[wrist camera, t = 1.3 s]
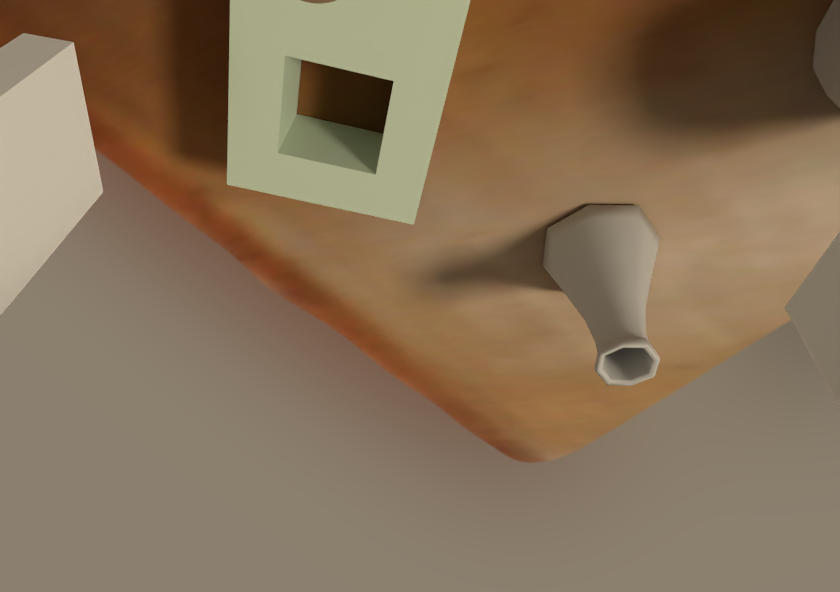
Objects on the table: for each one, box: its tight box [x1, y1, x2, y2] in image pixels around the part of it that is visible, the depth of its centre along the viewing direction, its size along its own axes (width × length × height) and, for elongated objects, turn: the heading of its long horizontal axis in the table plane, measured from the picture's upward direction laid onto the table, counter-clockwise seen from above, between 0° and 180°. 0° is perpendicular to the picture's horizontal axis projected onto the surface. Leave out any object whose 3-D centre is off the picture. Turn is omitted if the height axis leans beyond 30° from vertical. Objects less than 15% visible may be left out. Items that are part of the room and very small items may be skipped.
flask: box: [543, 205, 660, 386], centre depth 36 cm, size 7×7×10 cm
